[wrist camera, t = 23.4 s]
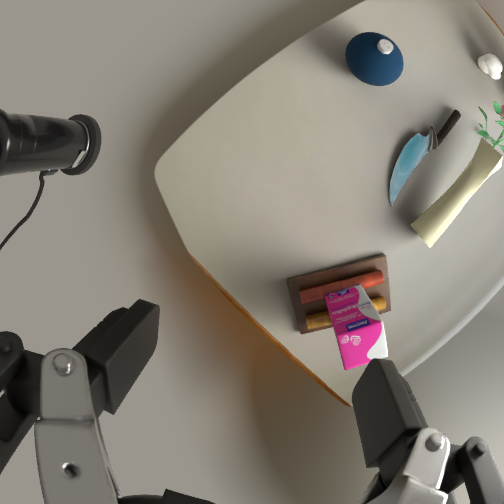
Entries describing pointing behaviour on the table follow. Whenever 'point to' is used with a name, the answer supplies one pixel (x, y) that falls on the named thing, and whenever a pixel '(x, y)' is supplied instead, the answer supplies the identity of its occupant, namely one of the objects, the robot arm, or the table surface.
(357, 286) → the supplement box
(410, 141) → the knife
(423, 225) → the flower vase
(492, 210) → the table surface
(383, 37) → the christmas ornament
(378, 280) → the rod rack
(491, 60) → the microfossil shell
